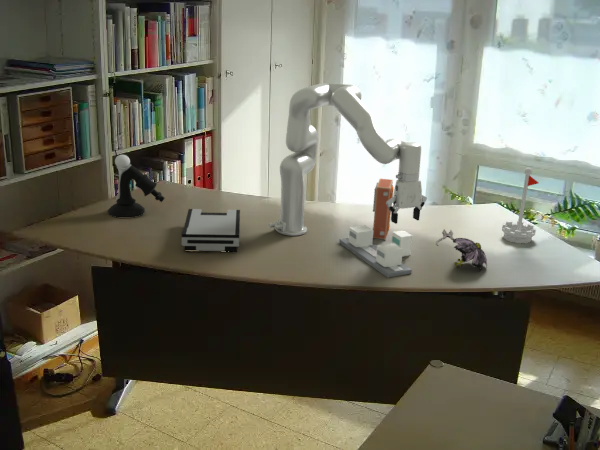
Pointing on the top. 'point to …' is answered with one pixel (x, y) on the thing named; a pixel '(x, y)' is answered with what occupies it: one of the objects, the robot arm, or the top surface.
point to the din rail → (373, 253)
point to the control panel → (382, 208)
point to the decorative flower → (470, 252)
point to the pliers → (446, 236)
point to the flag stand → (520, 231)
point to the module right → (389, 255)
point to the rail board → (374, 260)
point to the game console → (211, 231)
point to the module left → (360, 236)
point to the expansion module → (403, 241)
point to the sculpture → (126, 202)
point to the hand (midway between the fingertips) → (405, 220)
